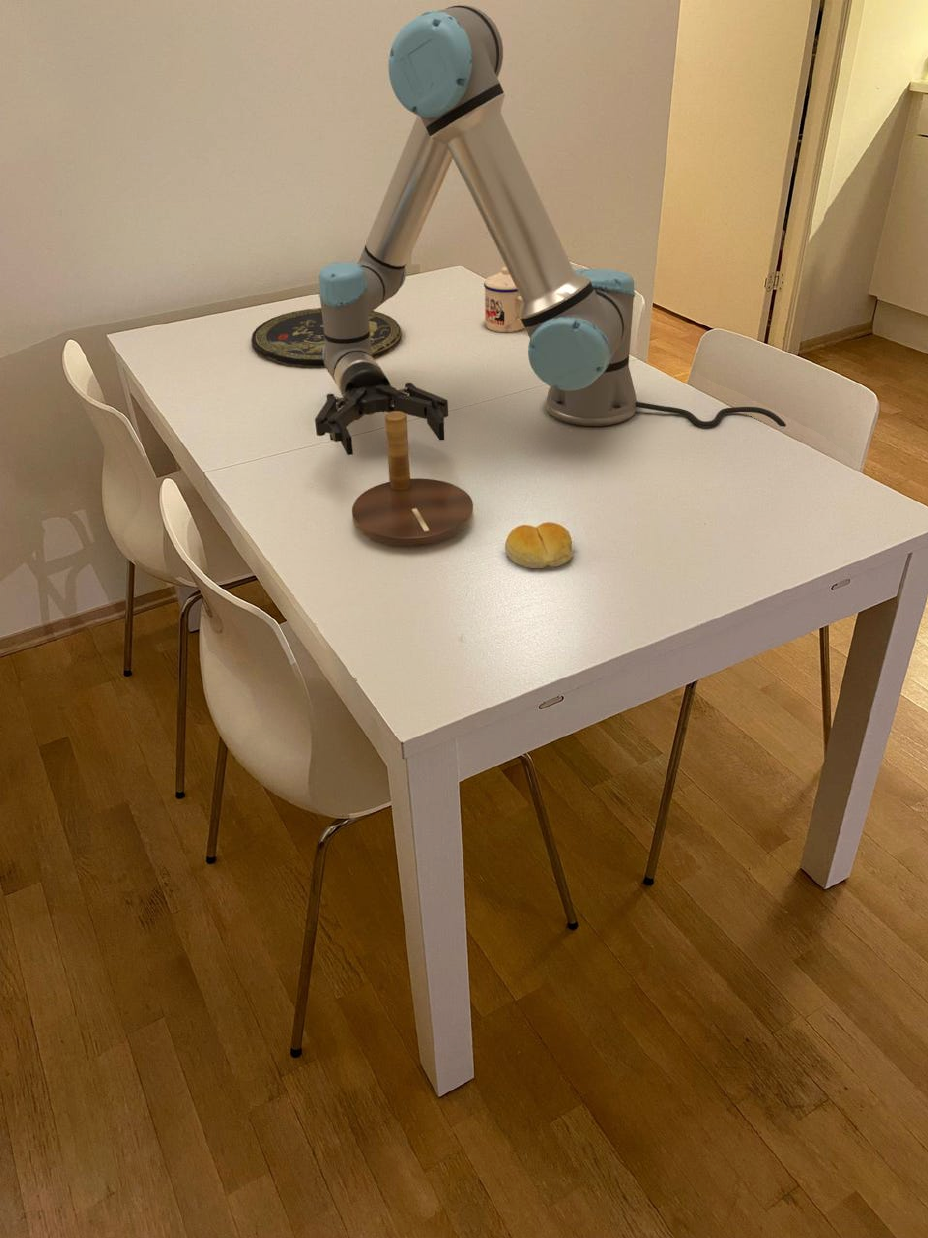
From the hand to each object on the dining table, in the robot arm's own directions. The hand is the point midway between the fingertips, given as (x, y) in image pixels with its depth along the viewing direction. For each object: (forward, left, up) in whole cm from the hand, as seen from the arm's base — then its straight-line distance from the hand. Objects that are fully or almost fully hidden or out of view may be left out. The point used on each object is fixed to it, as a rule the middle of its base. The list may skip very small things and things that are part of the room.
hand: (396, 438), depth 144 cm
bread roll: (-23, +12, -9) cm, 28 cm away
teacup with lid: (-3, -73, -9) cm, 73 cm away
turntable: (-4, +7, -8) cm, 11 cm away
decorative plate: (+32, -60, -9) cm, 68 cm away
